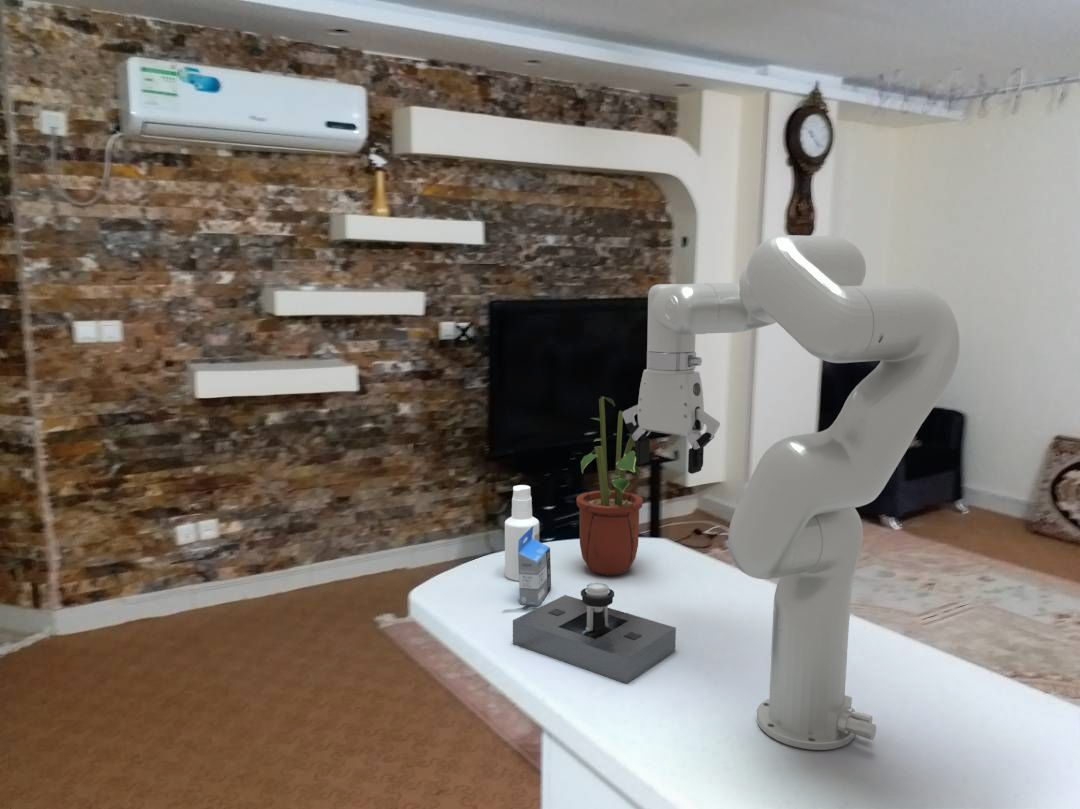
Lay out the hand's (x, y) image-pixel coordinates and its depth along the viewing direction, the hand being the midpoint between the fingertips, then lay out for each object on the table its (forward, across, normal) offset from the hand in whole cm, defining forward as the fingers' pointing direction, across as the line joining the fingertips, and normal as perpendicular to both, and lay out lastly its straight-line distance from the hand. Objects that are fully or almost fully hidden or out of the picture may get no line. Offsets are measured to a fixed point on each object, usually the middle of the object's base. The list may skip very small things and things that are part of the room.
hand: (668, 467), depth 141 cm
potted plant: (+28, +22, -20) cm, 41 cm away
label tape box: (+29, +27, +1) cm, 39 cm away
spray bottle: (+28, +36, -6) cm, 46 cm away
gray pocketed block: (+28, +6, +12) cm, 31 cm away
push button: (+28, +6, +12) cm, 31 cm away
